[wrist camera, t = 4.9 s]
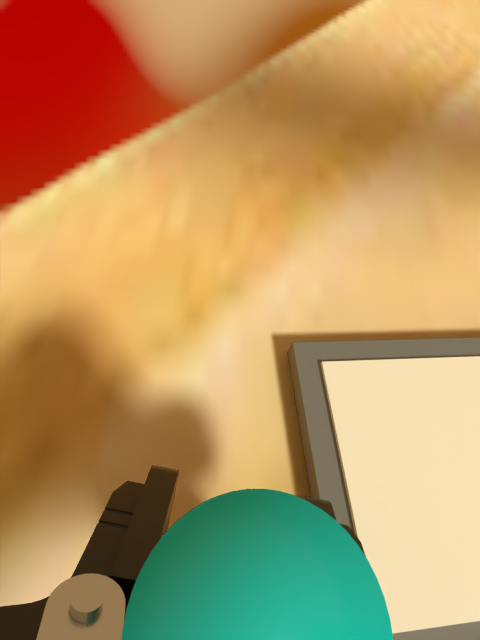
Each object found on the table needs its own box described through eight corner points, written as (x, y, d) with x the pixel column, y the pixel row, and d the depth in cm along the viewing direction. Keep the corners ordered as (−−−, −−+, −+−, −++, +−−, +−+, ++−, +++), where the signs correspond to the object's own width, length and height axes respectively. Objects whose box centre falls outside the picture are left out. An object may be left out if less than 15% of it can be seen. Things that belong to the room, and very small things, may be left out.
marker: (252, 530, 15) (359, 480, 6) (264, 651, 13) (429, 801, 5) (153, 540, 14) (125, 499, 6) (152, 667, 13) (113, 871, 4)
